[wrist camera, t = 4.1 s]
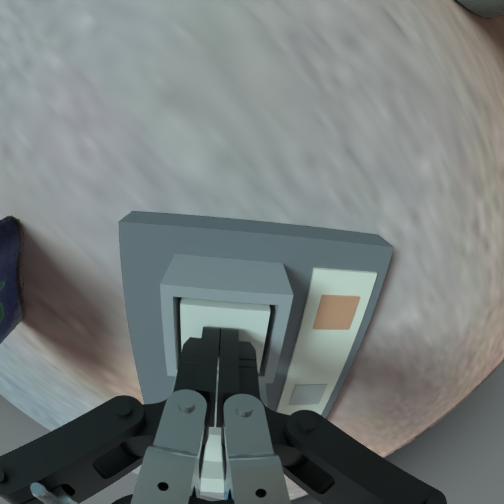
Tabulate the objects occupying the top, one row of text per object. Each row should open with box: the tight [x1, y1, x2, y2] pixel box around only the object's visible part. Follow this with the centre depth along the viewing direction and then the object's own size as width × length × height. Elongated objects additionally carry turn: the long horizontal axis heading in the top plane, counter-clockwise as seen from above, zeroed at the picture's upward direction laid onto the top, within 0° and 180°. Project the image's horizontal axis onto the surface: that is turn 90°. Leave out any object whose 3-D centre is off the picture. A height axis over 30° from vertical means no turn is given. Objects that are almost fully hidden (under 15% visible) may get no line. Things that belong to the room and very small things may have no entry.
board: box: [119, 211, 394, 419], centre depth 17 cm, size 22×14×5 cm, turn 174°
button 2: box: [180, 297, 270, 373], centre depth 13 cm, size 4×4×3 cm
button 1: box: [200, 461, 224, 493], centre depth 17 cm, size 4×4×3 cm
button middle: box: [204, 407, 222, 462], centre depth 14 cm, size 4×4×3 cm
